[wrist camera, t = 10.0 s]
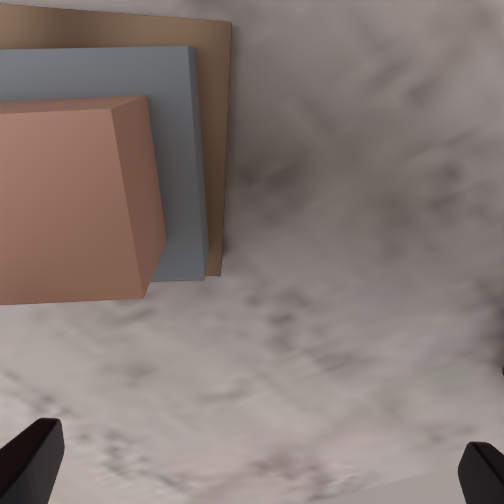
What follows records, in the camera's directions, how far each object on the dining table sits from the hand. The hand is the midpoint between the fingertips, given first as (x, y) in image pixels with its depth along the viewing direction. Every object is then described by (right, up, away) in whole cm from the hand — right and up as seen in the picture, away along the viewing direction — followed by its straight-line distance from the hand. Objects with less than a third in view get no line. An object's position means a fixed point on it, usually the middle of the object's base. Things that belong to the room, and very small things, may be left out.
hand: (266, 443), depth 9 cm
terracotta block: (-6, +7, +5) cm, 10 cm away
